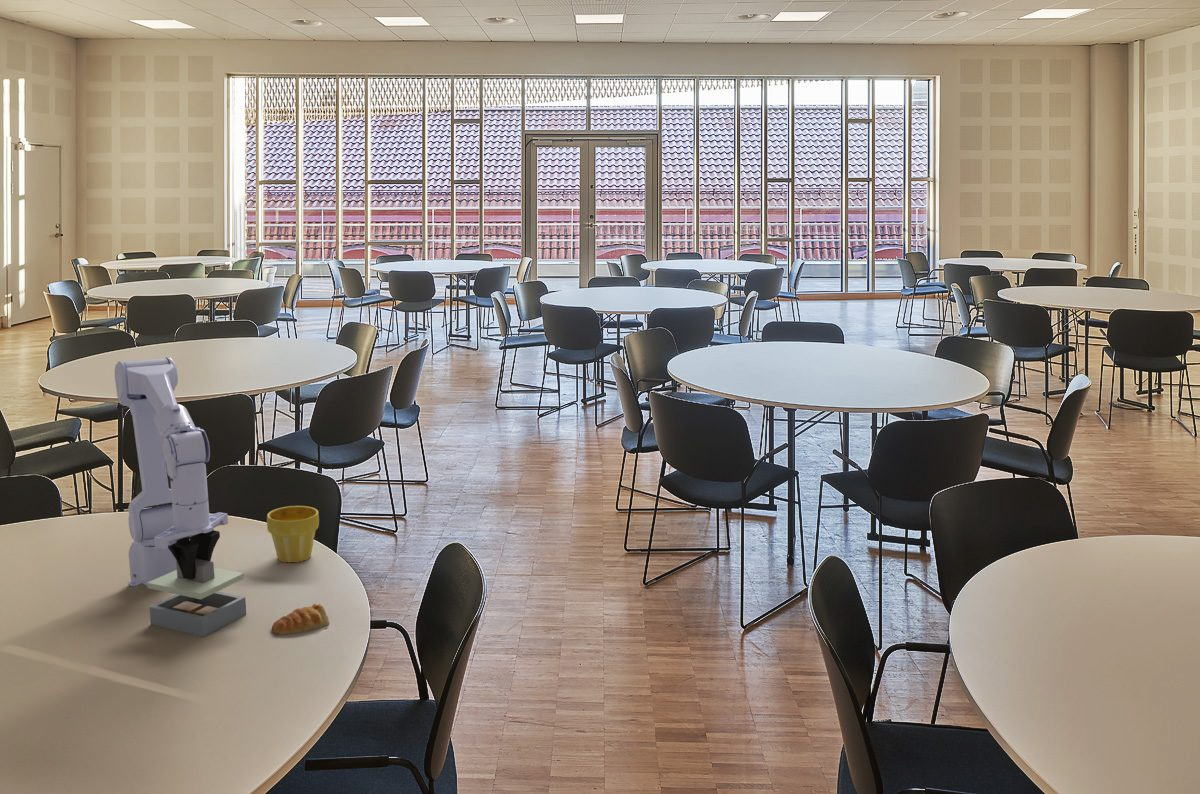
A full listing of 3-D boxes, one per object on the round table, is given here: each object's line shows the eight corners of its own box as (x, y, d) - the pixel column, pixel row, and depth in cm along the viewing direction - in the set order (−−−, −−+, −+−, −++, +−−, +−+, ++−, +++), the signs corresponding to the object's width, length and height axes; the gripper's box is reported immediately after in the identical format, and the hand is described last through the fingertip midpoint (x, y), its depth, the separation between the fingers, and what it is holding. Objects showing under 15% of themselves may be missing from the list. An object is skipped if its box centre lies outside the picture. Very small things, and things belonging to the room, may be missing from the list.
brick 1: (172, 617, 169) (172, 607, 168) (186, 611, 172) (185, 600, 171) (190, 621, 167) (189, 611, 167) (203, 615, 170) (202, 604, 170)
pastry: (281, 645, 161) (279, 623, 160) (265, 632, 166) (263, 611, 165) (333, 629, 167) (331, 609, 167) (315, 617, 172) (314, 597, 172)
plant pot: (329, 558, 200) (327, 513, 199) (283, 570, 193) (280, 524, 191) (306, 545, 208) (304, 502, 206) (260, 556, 201) (257, 512, 199)
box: (151, 628, 166) (149, 606, 166) (195, 606, 175) (193, 586, 175) (204, 641, 162) (202, 618, 161) (246, 618, 171) (245, 597, 170)
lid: (147, 591, 165) (145, 566, 164) (192, 571, 174) (190, 547, 173) (201, 602, 161) (199, 577, 160) (244, 581, 170) (242, 557, 169)
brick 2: (195, 622, 167) (194, 612, 166) (208, 616, 170) (207, 605, 169) (212, 627, 165) (212, 616, 165) (225, 620, 168) (225, 609, 168)
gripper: (174, 515, 156) (180, 593, 159) (239, 492, 169) (243, 564, 172) (142, 510, 159) (149, 587, 161) (208, 487, 172) (213, 558, 175)
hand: (195, 575), depth 167 cm, fingers closed on lid, 2 cm apart
